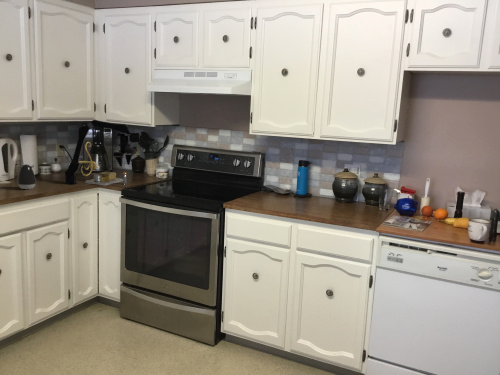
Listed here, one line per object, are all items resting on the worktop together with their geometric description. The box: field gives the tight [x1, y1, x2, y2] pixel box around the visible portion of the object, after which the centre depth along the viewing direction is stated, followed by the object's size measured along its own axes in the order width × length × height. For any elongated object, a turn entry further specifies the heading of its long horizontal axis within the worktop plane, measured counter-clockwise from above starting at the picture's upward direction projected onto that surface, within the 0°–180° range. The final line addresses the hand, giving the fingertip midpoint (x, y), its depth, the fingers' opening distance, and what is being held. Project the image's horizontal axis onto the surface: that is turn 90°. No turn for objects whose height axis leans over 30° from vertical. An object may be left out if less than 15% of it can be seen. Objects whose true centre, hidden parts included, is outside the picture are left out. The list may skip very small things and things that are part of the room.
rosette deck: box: [84, 171, 123, 186], centre depth 318 cm, size 22×16×6 cm
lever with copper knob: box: [122, 172, 127, 186], centre depth 313 cm, size 3×3×8 cm
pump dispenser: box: [17, 163, 37, 191], centre depth 280 cm, size 10×10×15 cm
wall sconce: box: [79, 141, 98, 177], centre depth 337 cm, size 14×10×25 cm
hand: (124, 165), depth 312 cm, fingers open, 9 cm apart
